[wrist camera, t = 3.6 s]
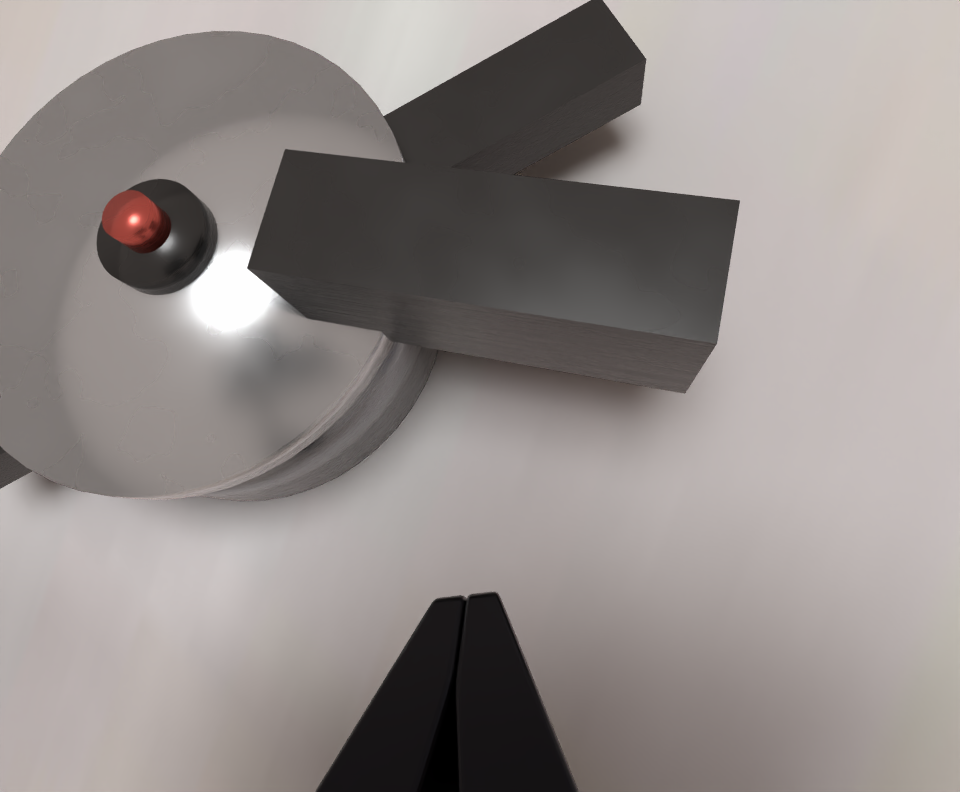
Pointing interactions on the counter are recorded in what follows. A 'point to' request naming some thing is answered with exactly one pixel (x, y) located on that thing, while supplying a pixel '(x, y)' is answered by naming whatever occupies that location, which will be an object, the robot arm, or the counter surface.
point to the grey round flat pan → (472, 146)
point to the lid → (297, 268)
